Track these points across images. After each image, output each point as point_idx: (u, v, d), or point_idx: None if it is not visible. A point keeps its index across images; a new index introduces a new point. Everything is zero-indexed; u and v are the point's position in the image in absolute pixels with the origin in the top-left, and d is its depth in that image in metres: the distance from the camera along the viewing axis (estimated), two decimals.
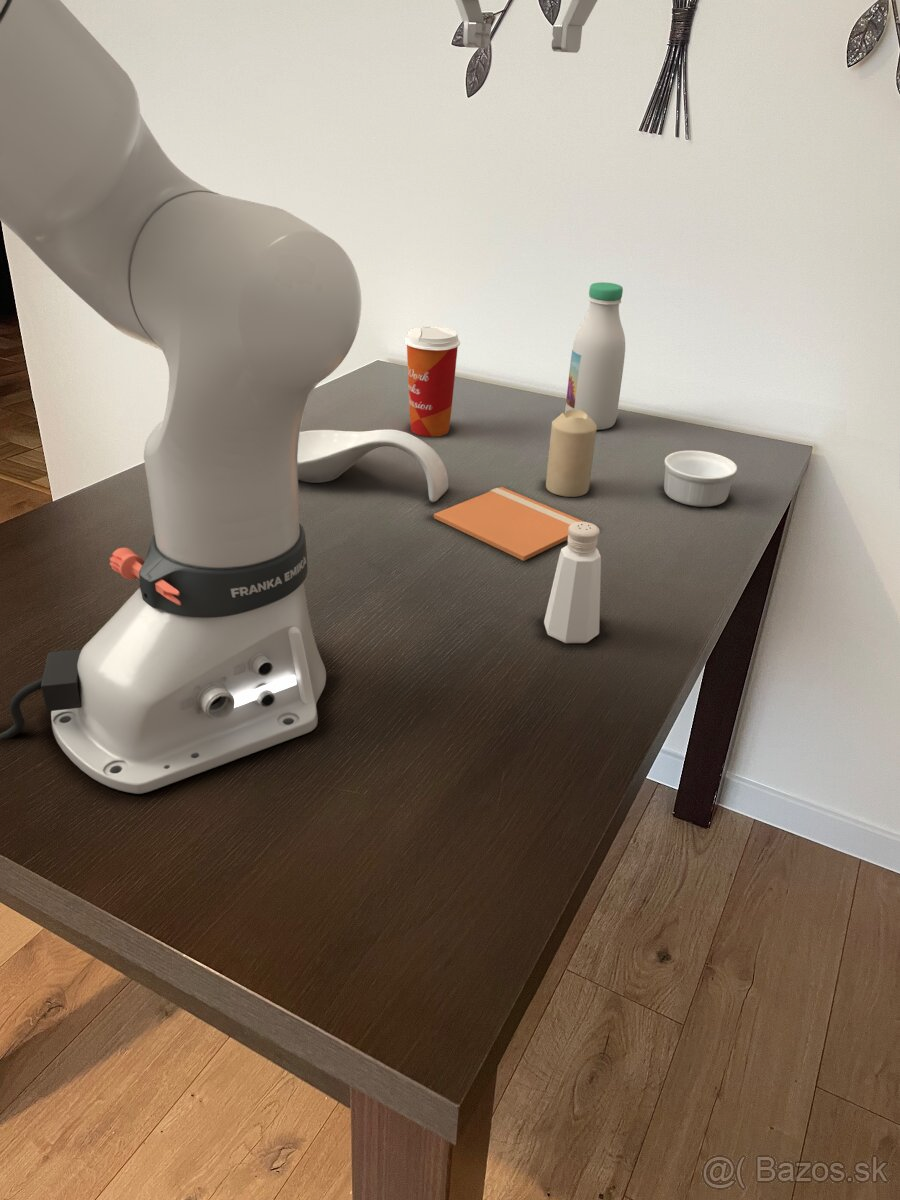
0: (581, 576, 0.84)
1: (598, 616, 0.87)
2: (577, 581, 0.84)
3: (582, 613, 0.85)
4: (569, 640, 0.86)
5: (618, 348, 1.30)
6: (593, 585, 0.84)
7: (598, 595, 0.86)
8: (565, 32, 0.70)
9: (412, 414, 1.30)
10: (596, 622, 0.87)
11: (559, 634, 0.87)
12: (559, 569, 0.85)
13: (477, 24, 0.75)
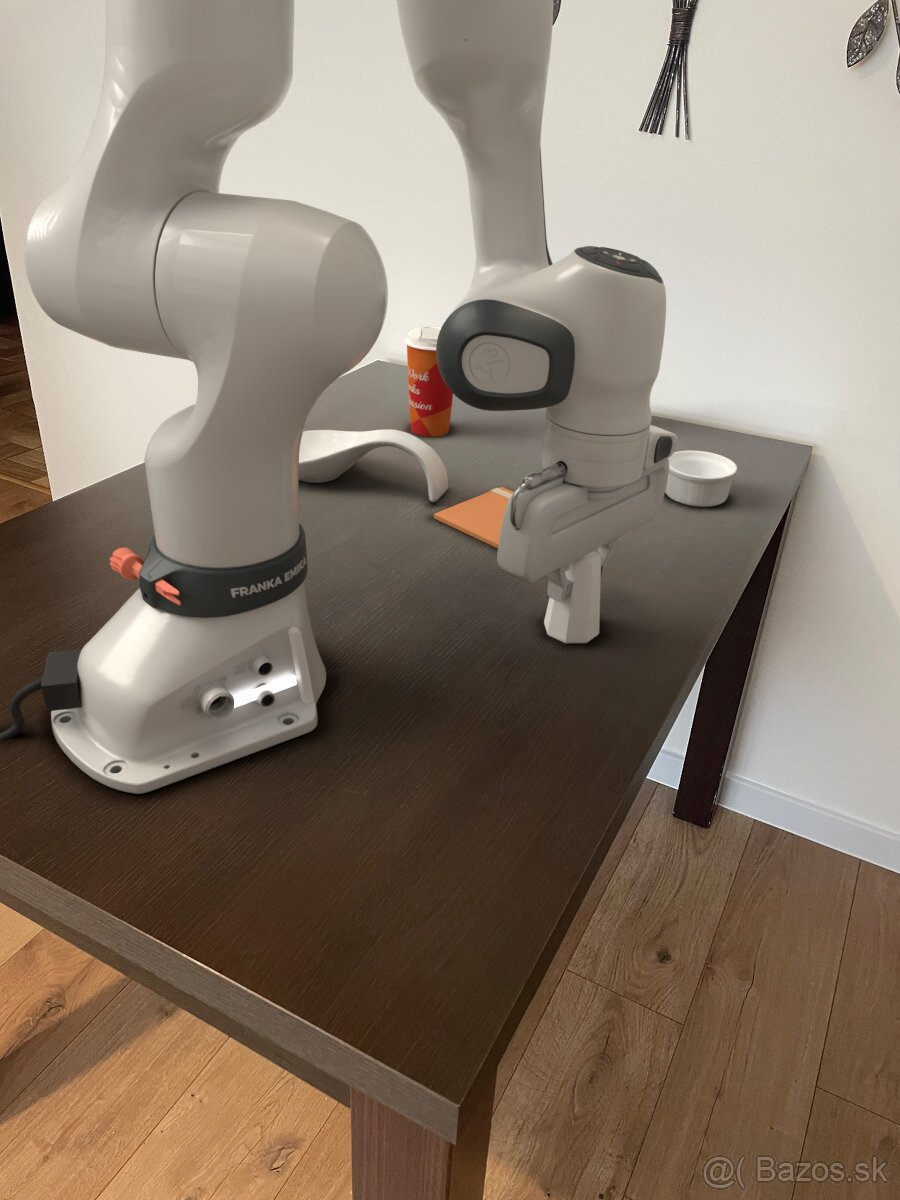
0: (581, 576, 0.84)
1: (598, 616, 0.87)
2: (577, 581, 0.84)
3: (582, 613, 0.85)
4: (569, 640, 0.86)
5: None
6: (593, 585, 0.84)
7: (598, 595, 0.86)
8: (604, 569, 0.87)
9: (412, 414, 1.30)
10: (596, 622, 0.87)
11: (559, 634, 0.87)
12: None
13: (572, 582, 0.84)
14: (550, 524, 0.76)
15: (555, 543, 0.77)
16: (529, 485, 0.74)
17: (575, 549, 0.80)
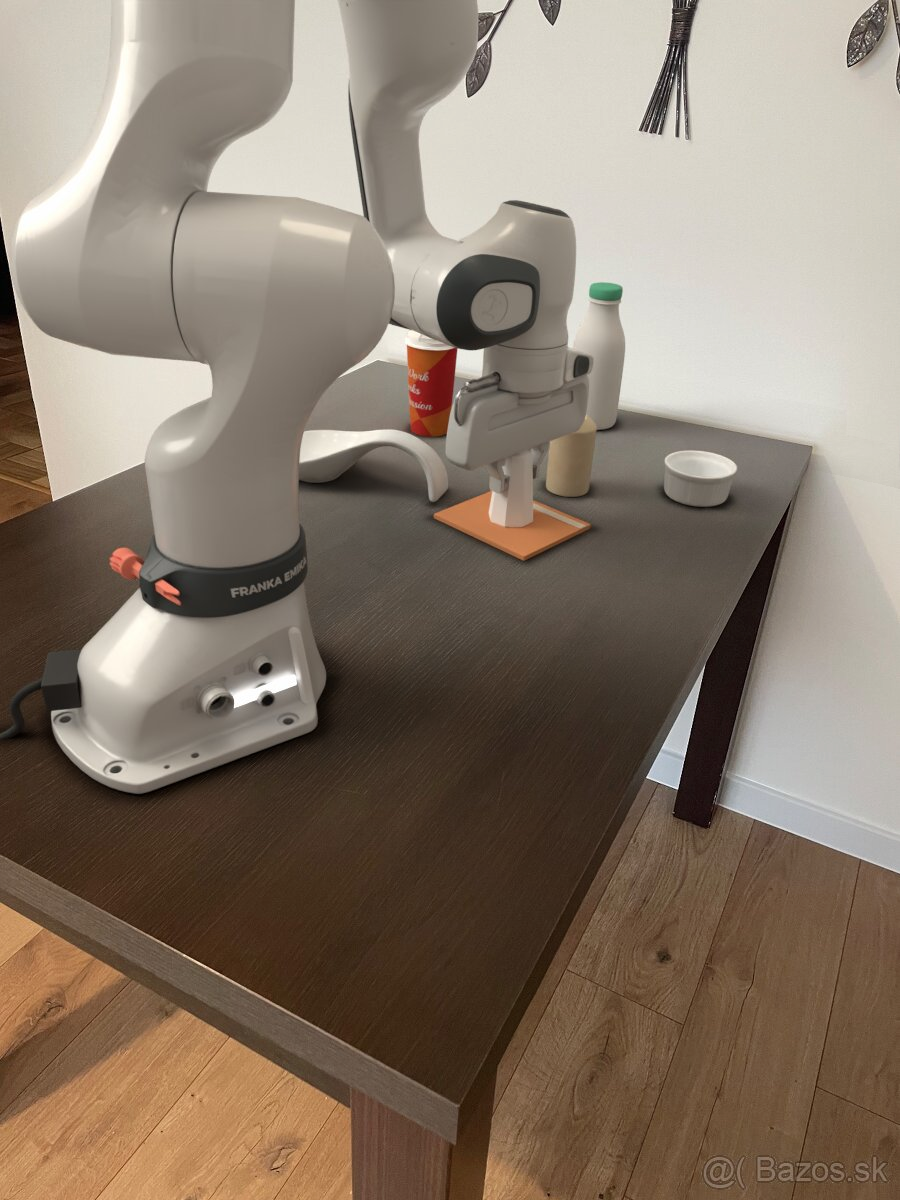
0: (516, 469, 1.03)
1: (531, 505, 1.06)
2: (513, 474, 1.03)
3: (517, 501, 1.04)
4: (507, 525, 1.05)
5: (618, 348, 1.30)
6: (526, 477, 1.04)
7: (531, 487, 1.05)
8: (538, 469, 1.06)
9: (412, 414, 1.30)
10: (530, 510, 1.06)
11: (499, 520, 1.06)
12: None
13: (509, 477, 1.03)
14: (486, 421, 0.95)
15: (491, 438, 0.96)
16: (468, 388, 0.93)
17: (509, 446, 0.99)
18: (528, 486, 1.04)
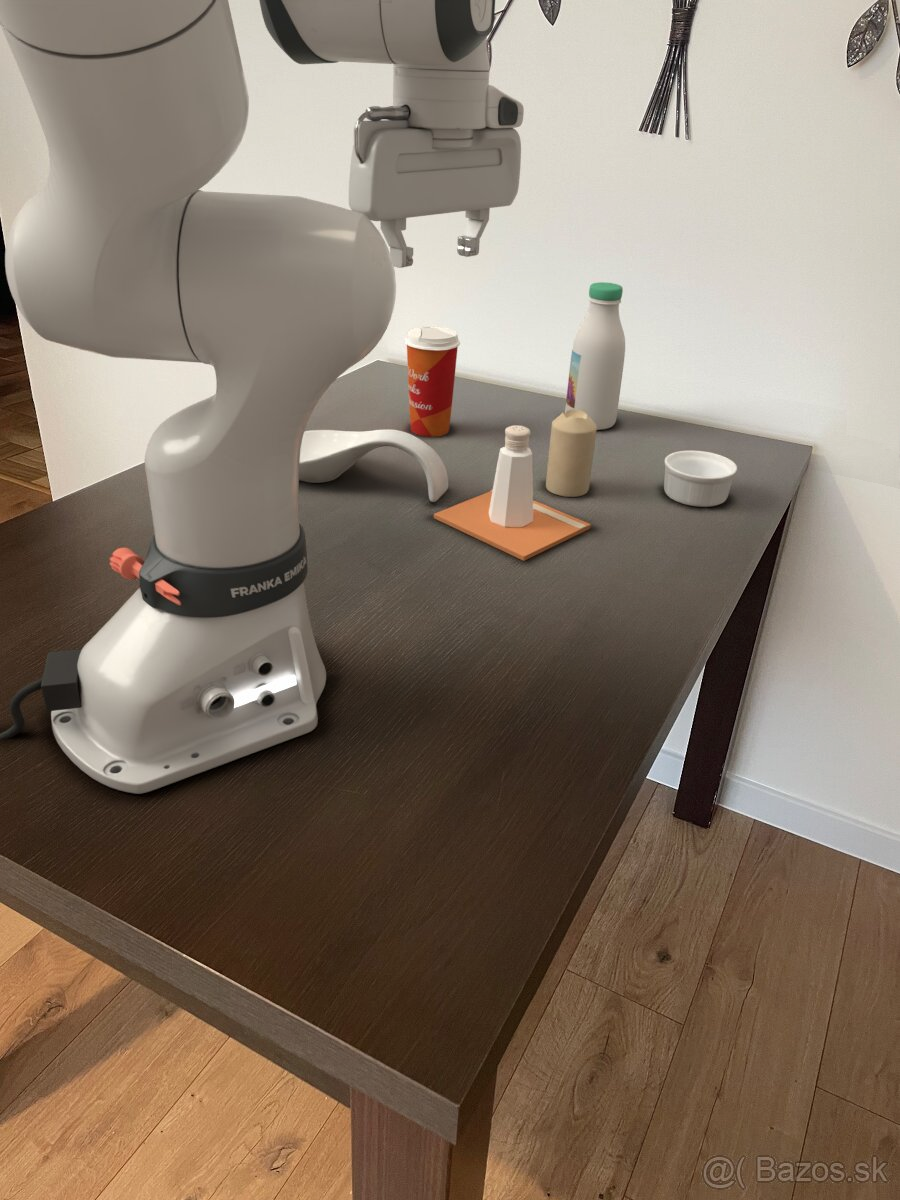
0: (516, 469, 1.03)
1: (531, 505, 1.06)
2: (513, 474, 1.03)
3: (517, 501, 1.04)
4: (507, 525, 1.05)
5: (618, 348, 1.30)
6: (526, 477, 1.04)
7: (531, 487, 1.05)
8: (478, 243, 0.95)
9: (412, 414, 1.30)
10: (530, 510, 1.06)
11: (499, 520, 1.06)
12: (498, 465, 1.04)
13: (412, 249, 0.89)
14: (393, 159, 0.82)
15: (401, 183, 0.84)
16: (370, 115, 0.80)
17: (424, 200, 0.86)
18: (528, 486, 1.04)
